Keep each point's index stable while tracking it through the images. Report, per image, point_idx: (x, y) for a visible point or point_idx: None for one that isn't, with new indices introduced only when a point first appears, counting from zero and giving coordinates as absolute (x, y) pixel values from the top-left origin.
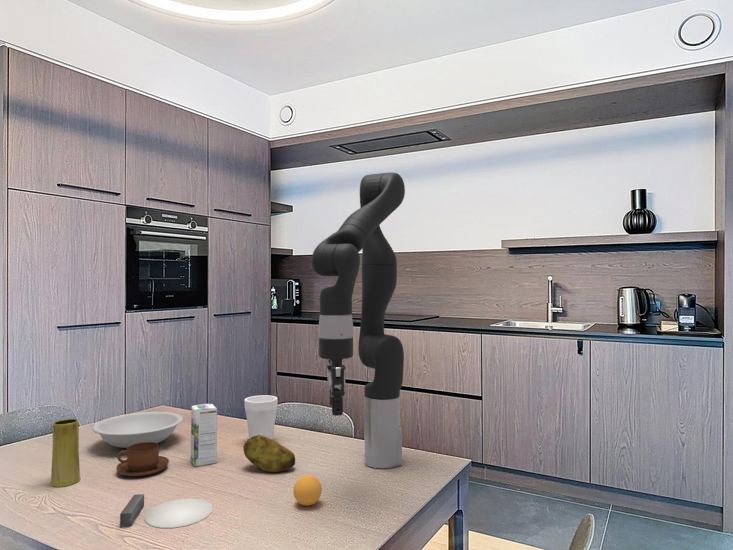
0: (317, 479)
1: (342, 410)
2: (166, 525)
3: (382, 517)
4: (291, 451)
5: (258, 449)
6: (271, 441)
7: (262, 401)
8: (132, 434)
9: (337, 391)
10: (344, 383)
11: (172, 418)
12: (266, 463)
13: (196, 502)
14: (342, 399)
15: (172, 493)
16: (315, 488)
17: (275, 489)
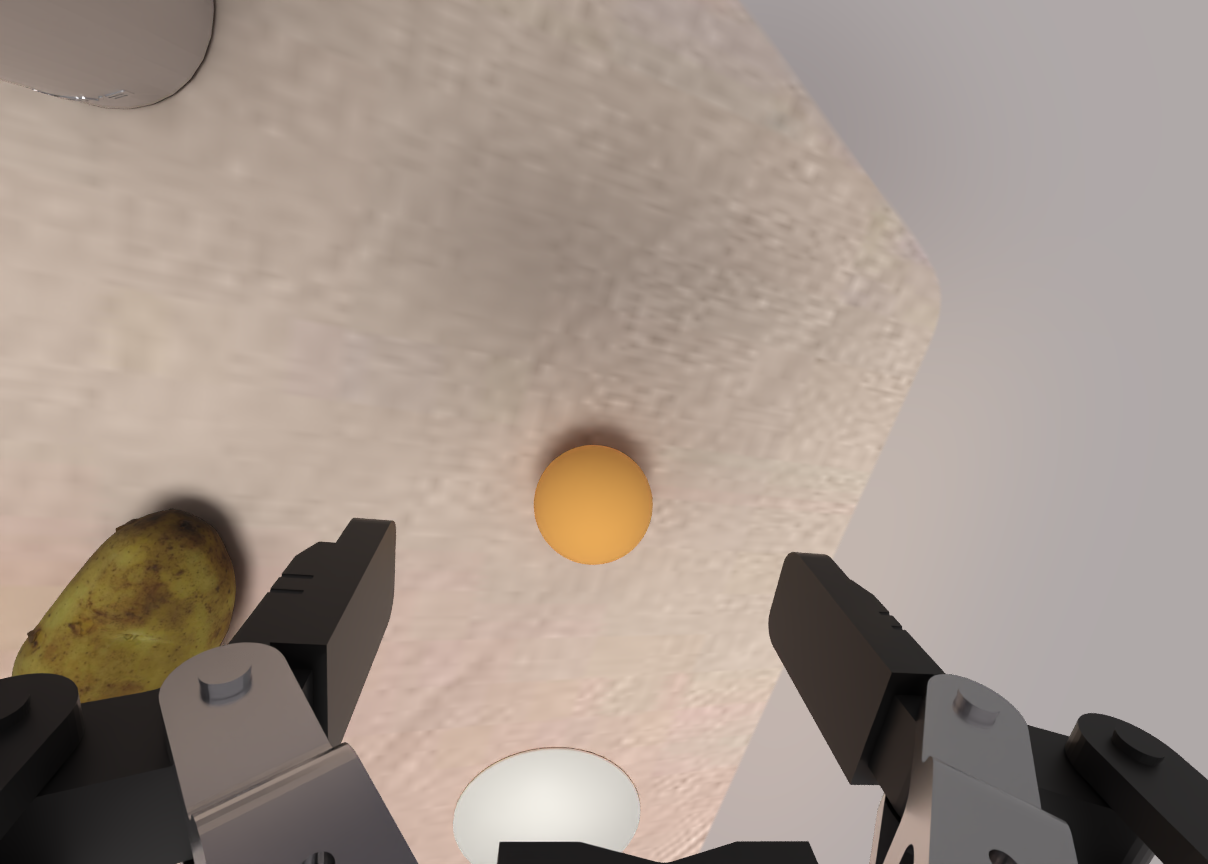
0: (605, 484)
1: (844, 575)
2: (626, 832)
3: (787, 222)
4: (118, 553)
5: None
6: (77, 682)
7: None
8: None
9: (1145, 856)
10: (1061, 841)
11: None
12: (220, 640)
13: (490, 793)
14: (913, 657)
15: None
16: (645, 488)
17: (419, 579)
